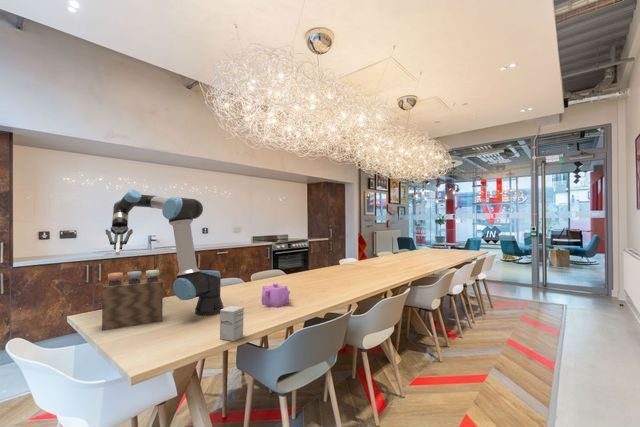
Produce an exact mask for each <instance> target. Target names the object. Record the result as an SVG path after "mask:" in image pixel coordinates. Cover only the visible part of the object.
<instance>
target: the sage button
mask: <svg viewBox="0 0 640 427" xmlns="http://www.w3.org/2000/svg"><path fill="white" fill-rule="evenodd" d="M158 276H160V270H159V269H150V270H149V269H148V270H145V277H149V278H150V279H154V278H155V277H158Z"/></svg>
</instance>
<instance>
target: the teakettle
mask: <svg viewBox="0 0 640 427" xmlns="http://www.w3.org/2000/svg"><path fill="white" fill-rule="evenodd" d="M290 293H291V291H290V290H289V288H288V286H287V285H280V284H279V283H273V284H270V285H268V286H267V285H263V286H262V291H261V304H262V305H263V306H267V307H272V308H279V307H283V306H286V305H289V303H290Z"/></svg>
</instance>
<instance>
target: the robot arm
mask: <svg viewBox="0 0 640 427" xmlns="http://www.w3.org/2000/svg"><path fill="white" fill-rule="evenodd" d="M134 207H136V208H137V207H139V208H152V209H156V210H157V209H158V210H162V211H161V212H162V213H161V214H162V216H163V217H164V218H165V219H167V220H168V223H169V225H170V226H171V227H172V230H173V236H174V242H175V243H174V244H175V249H176V250H175V251H176V258H177V264H178V273H177V274H176V279H175V281H174V282H173V285H172V289H173V290H172V291H173V293H174V295H175V296H176V298H178V299H179V300H181V301H189V300H193V299H195V298H198V299H197V303H196V306H195V308H194V313H195V315H198V316H212V315H218V314H220V310H221V309H224V308H225V307H224V304H223V301H222V297H221V285H222V284H221V279H222V277H221V272H220V271H219V270H210V269H209V270H201V269H199V268H198V265H197V259H196V253H195V245H194V241H193V240H194V239H193V238H194V237H193V232H192V225H191V224H192V223H193V221H194V219H195V220H196V219H198V218H200V217H201V215H202V214H203V212H204V205H203V204H202V202H200V200H198V199H196V198H187V197H180V196H177V197H175V196H174V197H163V196H157V195H152V194H151V195H149V194H141V193H140V192H139V191H138V190H136V189H129V190H128V191H127V192H126V193H125V194H124V196H123V197H122V198H121V200H118V201H115V203H114V204H113V210H112V212H113V213H112V218H111V219H112V221H111V227H110V229H107V228H106V229H105V235H107V238H108V241H109V245H110V246H113V250H115V256H120V251H121V250H123V245H127V243H128V242H129V239H130V238H131V235H132V234H133V232H134V231H133V229H132V228H131V229H130V228H129V227H128V225H129V213H130V212H131V211H132V209H133V208H134ZM111 233H113V234H114V240H113V237H112V235H111ZM125 234H126V235H125ZM124 235H125V238H124ZM118 237H119V242H118Z"/></svg>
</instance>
